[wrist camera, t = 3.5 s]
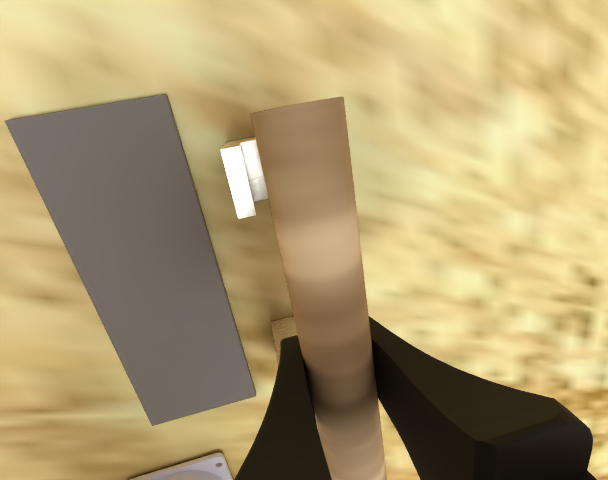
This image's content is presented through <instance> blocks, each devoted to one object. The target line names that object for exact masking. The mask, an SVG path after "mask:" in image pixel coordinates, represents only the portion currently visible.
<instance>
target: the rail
mask: <svg viewBox="0 0 608 480" xmlns="http://www.w3.org/2000/svg"><path fill="white" fill-rule="evenodd" d="M250 115H251V120H252V124H253V129H254V134H255V138H256V143H257V148H258V152H259V157H260V161H261V166H262V171H263V175H264V180H265V185H266V189H267V194H268V199H269V203H270V208H271V212H272V217H273V222H274V226H275V231H276V236H277V240H278V245H279V250H280V254H281V259H282V263H283V268H284V273H285V277H286V282H287V287H288V291H289V296H290V301H291V305H292V310H293V314H294V319H295V324H296V328H297V333H298V338H299V342H300V347H301V351H302V356H303V361H304V365H305V370H306V375H307V379H308V384H309V389H310V393H311V398H312V402H313V407H314V412H315V416H316V421H317V426H318V430H319V435H320V440H321V443H322V447H323V451H324V454H325V458H326V461H327V465H328V468H329V471H330V475H331V478H332V480H387V475H386V466H385V458H384V449H383V440H382V431H381V422H380V414H379V405H378V396H377V387H376V378H375V370H374V361H373V352H372V343H371V334H370V326H369V317H368V308H367V299H366V290H365V282H364V273H363V264H362V255H361V246H360V238H359V229H358V220H357V211H356V202H355V194H354V185H353V176H352V167H351V158H350V150H349V141H348V132H347V123H346V114H345V106H344V97H337V98H330V99H323V100H317V101H312V102H306V103H300V104H295V105H290V106H284V107H279V108H274V109H269V110H264V111H260V112H256V113H252V114H250Z"/></svg>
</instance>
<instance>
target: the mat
mask: <svg viewBox="0 0 608 480" xmlns="http://www.w3.org/2000/svg"><path fill="white" fill-rule="evenodd" d="M5 122H6V125H7V127H8V129H9V131H10V133H11V135H12V137H13V139H14V141H15V143H16V145H17V147H18V149H19V151H20V153H21V156H22V158H23V160H24V162H25V164H26V166H27V168H28V170H29V172H30V174H31V176H32V178H33V180H34V182H35V184H36V187H37V189H38V191H39V193H40V195H41V197H42V199H43V201H44V203H45V205H46V207H47V209H48V211H49V213H50V216H51V218H52V220H53V222H54V224H55V226H56V228H57V230H58V232H59V234H60V236H61V238H62V240H63V242H64V244H65V247H66V249H67V251H68V253H69V255H70V257H71V259H72V261H73V263H74V265H75V267H76V269H77V271H78V273H79V275H80V278H81V280H82V282H83V284H84V286H85V288H86V290H87V292H88V294H89V296H90V298H91V300H92V302H93V304H94V307H95V309H96V311H97V313H98V315H99V317H100V319H101V321H102V323H103V325H104V327H105V329H106V331H107V333H108V335H109V338H110V340H111V342H112V344H113V346H114V348H115V350H116V352H117V354H118V356H119V358H120V360H121V362H122V364H123V366H124V369H125V371H126V373H127V375H128V377H129V379H130V381H131V383H132V385H133V387H134V389H135V391H136V393H137V395H138V398H139V400H140V402H141V404H142V406H143V408H144V410H145V412H146V414H147V416H148V418H149V420H150V422H151V424H152V426H153V425H157V424H160V423H164V422H167V421H171V420H174V419H178V418H181V417H185V416H188V415H192V414H195V413H199V412H202V411H206V410H209V409H213V408H216V407H220V406H223V405H227V404H230V403H234V402H237V401H241V400H244V399H248V398H251V397H255V396H256V390H255V387H254V384H253V380H252V377H251V374H250V370H249V367H248V364H247V360H246V357H245V354H244V350H243V347H242V344H241V340H240V337H239V334H238V330H237V327H236V324H235V320H234V317H233V314H232V310H231V307H230V304H229V300H228V297H227V294H226V290H225V287H224V283H223V280H222V277H221V273H220V270H219V267H218V263H217V260H216V257H215V253H214V250H213V247H212V243H211V240H210V237H209V233H208V230H207V227H206V223H205V220H204V217H203V213H202V210H201V207H200V203H199V200H198V197H197V193H196V190H195V187H194V183H193V180H192V177H191V173H190V170H189V166H188V163H187V160H186V156H185V153H184V150H183V146H182V143H181V140H180V136H179V133H178V130H177V126H176V123H175V120H174V116H173V113H172V110H171V106H170V103H169V100H168V96H167V95H166V94H163V95H157V96H151V97H145V98H139V99H133V100H127V101H121V102H115V103H109V104H103V105H97V106H91V107H85V108H79V109H73V110H67V111H61V112H55V113H48V114H42V115H36V116H30V117H24V118H18V119H12V120H6V121H5Z"/></svg>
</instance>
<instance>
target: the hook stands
mask: <svg viewBox="0 0 608 480" xmlns="http://www.w3.org/2000/svg"><path fill="white" fill-rule="evenodd" d="M221 154H222V158H223V162H224V166H225V170H226V173H227V177H228V181H229V185H230V189H231V193H232V197H233V201H234V205H235V208H236V212H237V216H238V219H241V218H246V217H250V216H255V215H256V212H255V207H254V202H255V201H260V200H265V199H268V194H267V189H266V185H265V180H264V175H263V171H262V166H261V161H260V157H259V152H258V148H257V143H256V138H255V137H252V138H246V139H241V140H236V141H230V142H226V143H225V144H224V146H223V147H222V148H221ZM271 326H272V332H273V338H274V344H275V350H276V356H277V362H278V366H279V360H280V349H281V345H280V342H281V340H282V339H284V338H288V337H292V336H295V335H298V333H297V328H296V324H295V319H294V316H291V317H287V318H284V319H280V320H276V321H272V322H271Z"/></svg>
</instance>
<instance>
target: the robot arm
mask: <svg viewBox="0 0 608 480" xmlns="http://www.w3.org/2000/svg"><path fill="white" fill-rule="evenodd" d="M368 317H369V316H368ZM369 326H370V334H371V343H372V352H373V361H374V370H375V378H376V387H377V396H378V398H379V400H380V402H381V404H382V405H383V407H384V409H385V411H386V412H387V414H388V416H389V417H390V419H391V421H392V423H393V424H394V426H395V428H396V430H397V431H398V433H399V435H400V437H401V439H402V441H403V443H404V445H405V447H406V449H407V451H408V453H409V455H410V457H411V460H412V462H413V464H414V466H415V468H416V470H417V473H418V475H419V477H420V479H421V480H597V479H596V478H595V477H594V476H593V475H592V474H590V473H589V472H588V471H587V468H588V464H589V460H590V456H591V451H592V445H593V437H592V434H591V431H590V429H589V428H588V427H587V426H586V425H585V424H584V423H583V422H582V421H581V420H579V419H578V418H577V417H576V416H575V415H574V414H573V413H571V412H570V411H569V410H568V409H567V408H565V407H564V406H563V405H562V404H560V403H559V402H558V401H557V400H555V399H554V398H550V397H546V396H541V395H537V394H533V393H529V392H525V391H521V390H517V389H514V388H510V387H507V386H504V385H500V384H497V383H494V382H491V381H488V380H485V379H482V378H480V377H477V376H474V375H472V374H469V373H467V372H464V371H462V370H459V369H457V368H454V367H452V366H450V365H448V364H446V363H444V362H442V361H439V360H437V359H435V358H433V357H431V356H430V355H428V354H426V353H424V352H422V351H421V350H419V349H417V348H415V347H414V346H412V345H410V344H409V343H407V342H406V341H404V340H403V339H401V338H400V337H398V336H396V335H395V334H393V333H392V332H391V331H389V330H388V329H386V328H385V327H383V326H382V325H381V324H379V323H378V322H376V321H375V320H374V319H372V318H371V317H369ZM280 345H281V349H280V360H279V366H278V371H277V376H276V381H275V385H274V388H273V392H272V396H271V399H270V402H269V405H268V408H267V411H266V414H265V417H264V419H263V422H262V425H261V427H260V429H259V432H258V434H257V436H256V439H255V441H254V443H253V445H252V447H251V449H250V451H249V453H248V455H247V457H246V459H245V461H244V463H243V465H242V466H241V468H240V470H239V472H238V474H237V476H236V477H235V479H234V480H332V478H331V475H330V471H329V468H328V465H327V461H326V458H325V454H324V451H323V447H322V443H321V440H320V436H319V433H318V429H317V424H316V418H315V412H314V407H313V402H312V398H311V393H310V389H309V384H308V379H307V375H306V370H305V365H304V361H303V356H302V351H301V347H300V342H299V338H298V335H295V336H292V337H288V338H284V339H282V340H281V342H280ZM129 480H233V478H232V476H231V473H230V470H229V468H228V465H227V463H226V460H225V457H224V455H223V454H222V453H214V454H211V455H208V456H204V457H201V458H198V459H195V460H191V461H188V462H185V463H181V464H178V465H175V466H172V467H168V468H165V469H162V470H158V471H155V472H152V473H149V474H145V475H142V476H139V477H135V478H132V479H129Z"/></svg>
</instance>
